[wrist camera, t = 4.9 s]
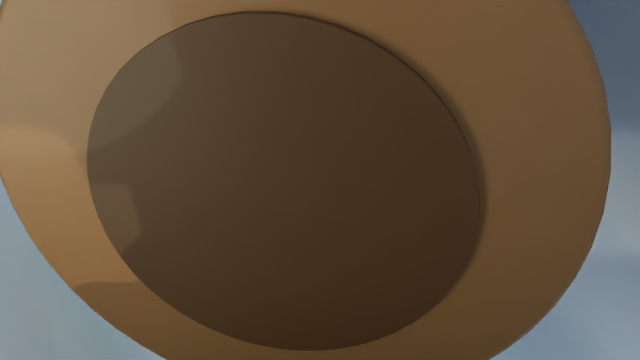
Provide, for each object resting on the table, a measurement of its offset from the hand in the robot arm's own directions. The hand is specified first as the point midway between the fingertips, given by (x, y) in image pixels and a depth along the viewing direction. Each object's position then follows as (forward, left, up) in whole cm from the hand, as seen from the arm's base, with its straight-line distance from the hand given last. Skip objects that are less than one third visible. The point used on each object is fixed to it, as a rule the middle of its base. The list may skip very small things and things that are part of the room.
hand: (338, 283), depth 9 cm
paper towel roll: (+3, +3, -8) cm, 9 cm away
